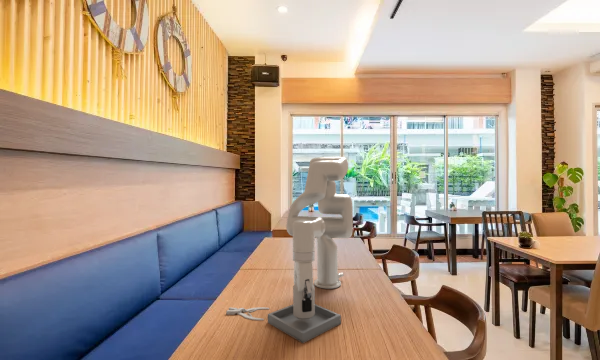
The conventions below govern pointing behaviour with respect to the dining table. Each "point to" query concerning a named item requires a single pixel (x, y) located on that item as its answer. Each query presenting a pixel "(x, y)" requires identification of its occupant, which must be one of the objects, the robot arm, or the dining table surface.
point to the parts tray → (304, 322)
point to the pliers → (238, 311)
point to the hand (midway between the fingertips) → (304, 306)
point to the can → (298, 304)
